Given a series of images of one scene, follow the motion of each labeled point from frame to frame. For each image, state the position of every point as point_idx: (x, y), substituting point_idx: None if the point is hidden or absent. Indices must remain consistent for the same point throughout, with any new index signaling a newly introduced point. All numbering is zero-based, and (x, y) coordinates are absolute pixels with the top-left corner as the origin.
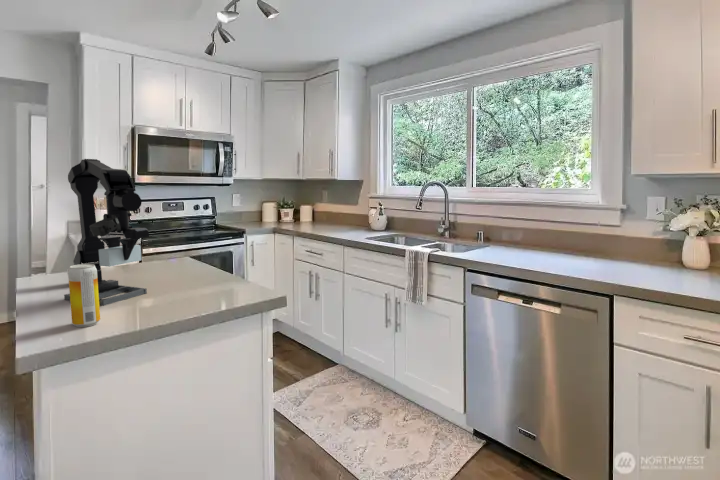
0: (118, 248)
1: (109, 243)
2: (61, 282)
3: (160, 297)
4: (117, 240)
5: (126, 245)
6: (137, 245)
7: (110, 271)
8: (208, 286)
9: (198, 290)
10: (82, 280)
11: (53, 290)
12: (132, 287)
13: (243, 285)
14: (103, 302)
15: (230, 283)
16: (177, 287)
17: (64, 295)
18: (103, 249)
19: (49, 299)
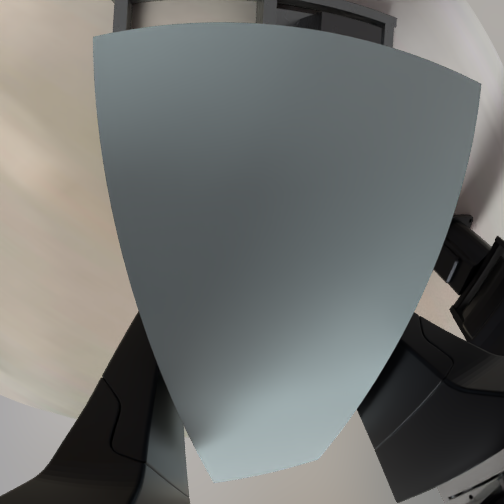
0: (187, 370)
1: (455, 383)
2: (498, 211)
3: (26, 217)
4: (402, 462)
5: (63, 454)
6: (222, 477)
7: (446, 327)
8: (61, 369)
9: (32, 333)
10: None
11: (483, 133)
12: None
13: (18, 392)
14: None
15: (56, 398)
16: (121, 334)
17: (392, 18)
18: (409, 117)
19: (428, 22)
